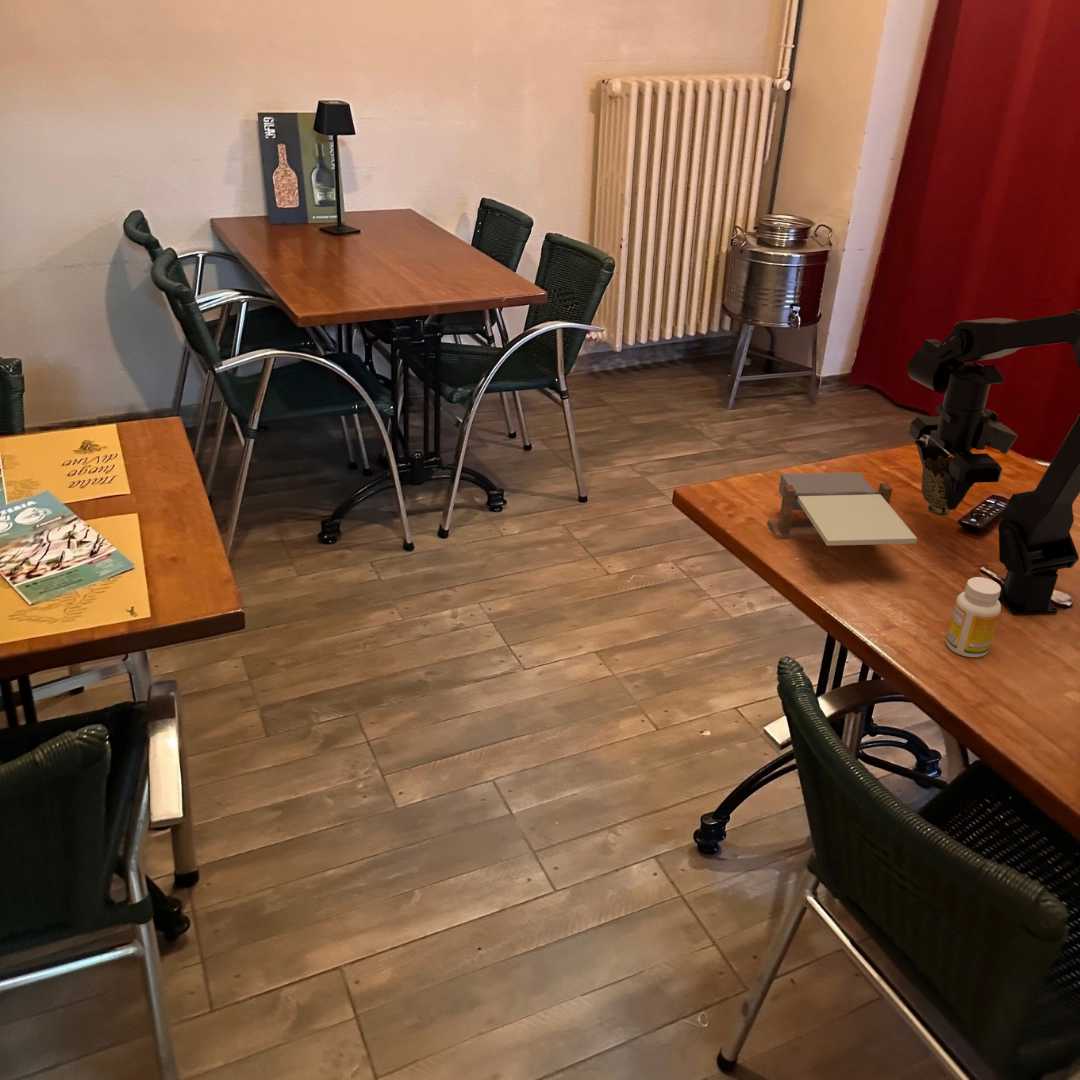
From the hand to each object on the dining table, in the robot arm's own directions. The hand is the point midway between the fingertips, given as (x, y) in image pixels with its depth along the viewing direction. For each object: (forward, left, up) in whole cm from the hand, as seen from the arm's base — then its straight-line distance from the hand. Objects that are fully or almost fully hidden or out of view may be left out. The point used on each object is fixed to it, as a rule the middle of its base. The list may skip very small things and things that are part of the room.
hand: (941, 499), depth 152 cm
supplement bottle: (-29, +8, -7) cm, 31 cm away
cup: (0, 0, -2) cm, 2 cm away
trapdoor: (-2, +16, -3) cm, 16 cm away
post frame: (+3, +16, -7) cm, 18 cm away
